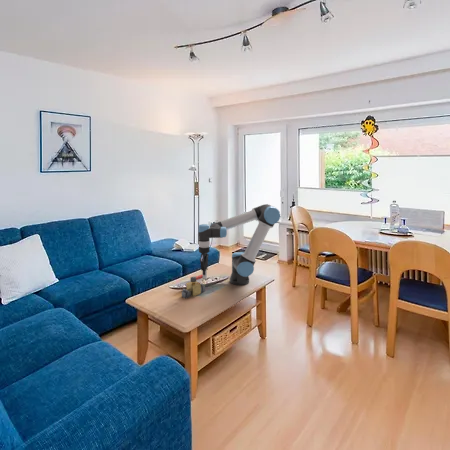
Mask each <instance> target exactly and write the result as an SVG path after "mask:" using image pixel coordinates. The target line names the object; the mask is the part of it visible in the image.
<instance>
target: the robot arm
mask: <svg viewBox="0 0 450 450" xmlns="http://www.w3.org/2000/svg"><path fill="white" fill-rule="evenodd" d="M280 219H281V213H280V211H279V209H278V208H277V207H275V206H273V205H270V204H268V203H267V204H261V205H258V206H257V207H254V208H252V209H251V210H248V211H246V212H244V213H240V214H237V215H235V216H232V217H230V218H226V219H224V220H221V221H218V222H212V223H210V224H207V223H206V224H205V223H203V224H199V225H198V231H197V232H198V234H197V235H198V242H197V243H198V252H199V254H200V258H199V262H200V270H201V271H202V274H203V278H202V280H207V278H208V276H207V273H208V271H207V270H208V269H209V265H208V264H209V255H210V254H209V253H210V248H211V247H210V239H217V238H219V239H223V238H226V237H227V235H228V233H227V231H228V230H230V229H233V228H236V227H239V226H242V225H246V224H247V223H250V222H254V221H256V222H258V224H257V227H256V228H255V230H254V233H253V234H252V235H251V239H250V241H249V243H248V245H246V246H247V247H246V248H245V250H244V251H240V252H238V251H237V252H234V253H233V252H232V254H231V274H230V277H229V283H230V284H233V285H235V286H245V285H248V284H249V283H250V276H251V275H252V274H253V273H254V271H255V267H254V266H255V264H256V262H257V261H256V257H257V255H258V253H259V251H260V250H261V248H262V245H263V243H264V241H265V239H266V237H267V235H268V233H269V231H270V229H272V228H274V226H275V224H277V223H278V222H279V221H280ZM202 274H201V275H202Z"/></svg>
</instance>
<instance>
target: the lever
mask: <svg viewBox="0 0 450 450" xmlns="http://www.w3.org/2000/svg"><path fill="white" fill-rule="evenodd" d="M201 279H203V274H200V275H196V276H190V279H189V280H190V282H196V281H198V280H201Z"/></svg>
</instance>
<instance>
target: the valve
mask: <svg viewBox="0 0 450 450" xmlns="http://www.w3.org/2000/svg"><path fill="white" fill-rule="evenodd" d="M185 284H186V288H182V291H181V298H183V299H190V298H191V297H196V296H199V295H201V294H202V293H205V292H206V285H205V284H203V283H201V282H198V280H196V282H191V281H189V282H186V283H185Z"/></svg>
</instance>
